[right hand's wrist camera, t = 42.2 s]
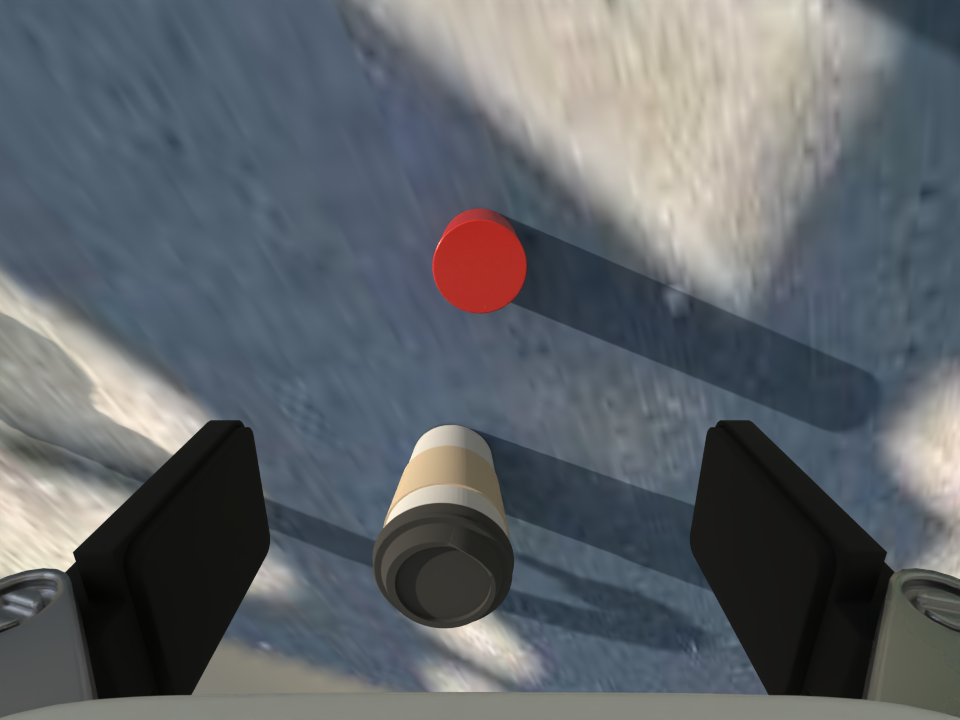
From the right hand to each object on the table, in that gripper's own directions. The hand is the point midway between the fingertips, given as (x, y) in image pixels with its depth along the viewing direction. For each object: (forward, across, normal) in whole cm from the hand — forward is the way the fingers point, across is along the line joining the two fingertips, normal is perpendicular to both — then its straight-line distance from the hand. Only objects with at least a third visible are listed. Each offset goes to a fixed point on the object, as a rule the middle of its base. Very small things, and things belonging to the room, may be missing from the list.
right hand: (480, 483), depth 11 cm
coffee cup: (+31, -2, -18) cm, 36 cm away
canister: (+31, 0, 0) cm, 31 cm away
